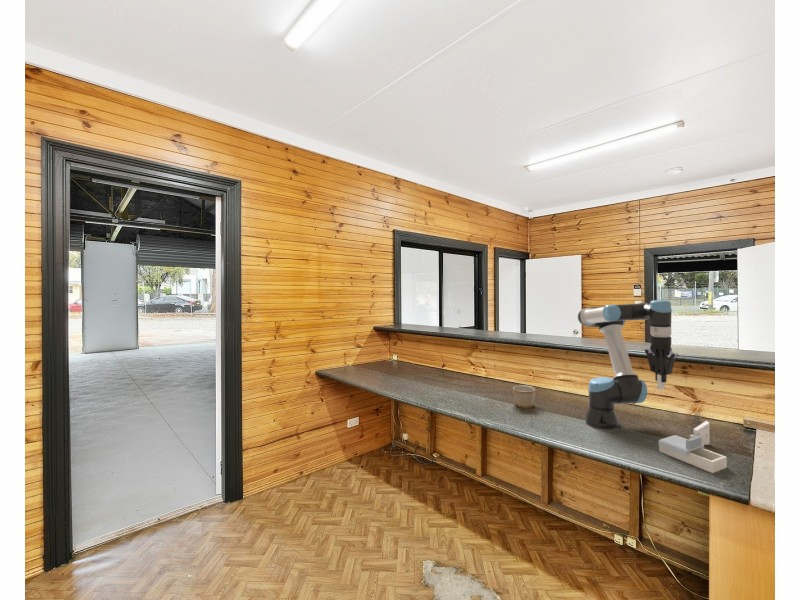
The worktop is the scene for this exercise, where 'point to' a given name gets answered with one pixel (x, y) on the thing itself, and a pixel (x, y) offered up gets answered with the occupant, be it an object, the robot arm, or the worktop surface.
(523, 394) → the planter
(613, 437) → the worktop surface
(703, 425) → the white angled block
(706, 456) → the long white channel rail
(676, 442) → the cover
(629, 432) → the worktop surface
